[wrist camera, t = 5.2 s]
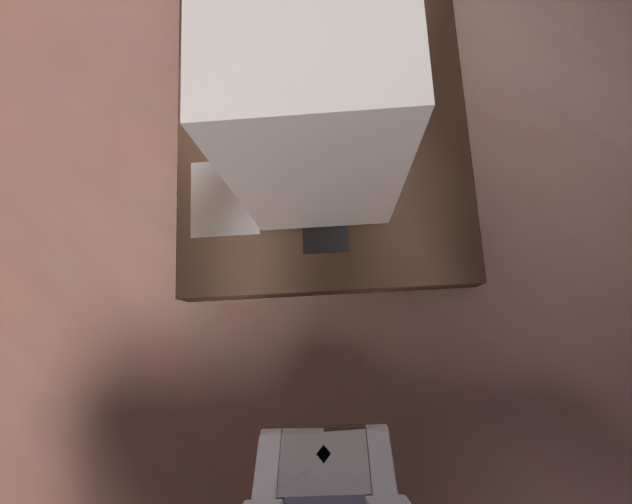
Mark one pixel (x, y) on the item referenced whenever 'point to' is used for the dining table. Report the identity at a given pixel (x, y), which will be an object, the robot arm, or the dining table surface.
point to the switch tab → (307, 103)
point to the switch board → (352, 240)
